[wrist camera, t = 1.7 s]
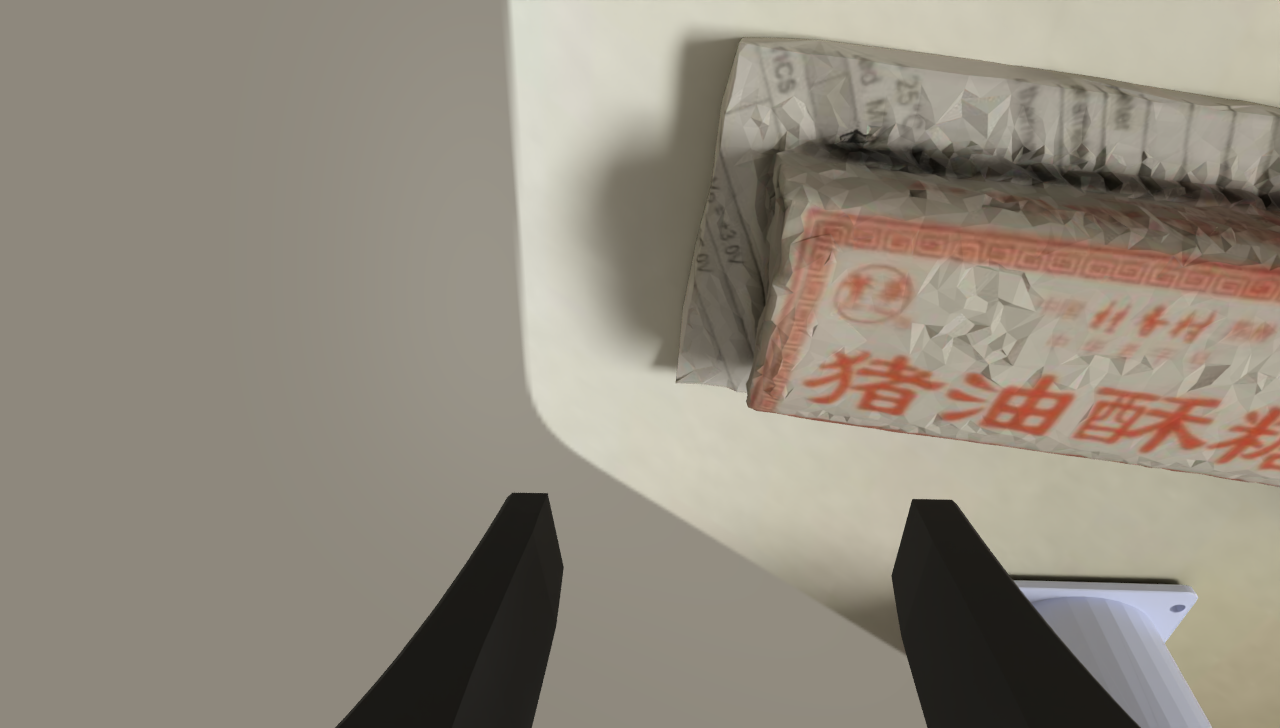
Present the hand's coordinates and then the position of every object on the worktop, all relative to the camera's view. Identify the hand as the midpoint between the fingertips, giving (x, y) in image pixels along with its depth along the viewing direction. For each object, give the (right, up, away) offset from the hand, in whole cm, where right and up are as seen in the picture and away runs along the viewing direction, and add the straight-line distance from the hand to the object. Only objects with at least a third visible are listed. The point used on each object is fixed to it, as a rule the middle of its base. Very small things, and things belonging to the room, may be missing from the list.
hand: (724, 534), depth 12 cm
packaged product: (+9, +6, +7) cm, 13 cm away
